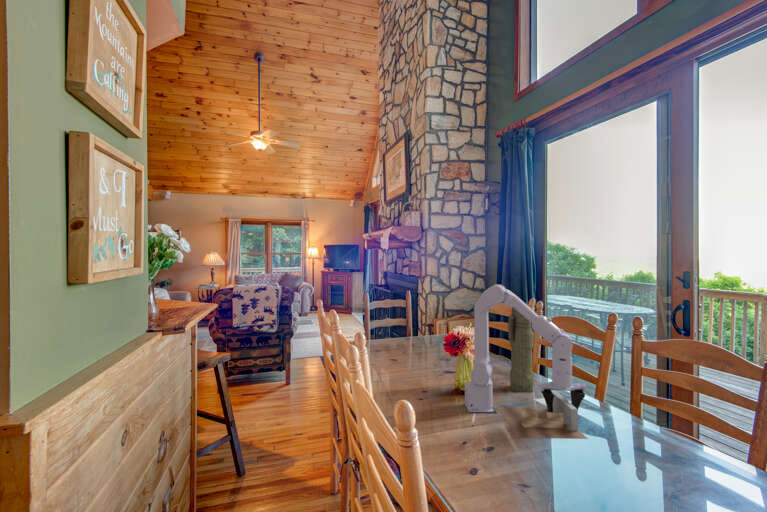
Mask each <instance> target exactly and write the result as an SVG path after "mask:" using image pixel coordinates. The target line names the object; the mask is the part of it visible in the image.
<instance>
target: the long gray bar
mask: <svg viewBox="0 0 767 512" xmlns="http://www.w3.org/2000/svg"><path fill="white" fill-rule="evenodd" d="M551 392H552V394H553V395H554V399H553V412H558V413H562V414H563V423H564V424H567V425H570V430H571V431H578V430H579V429H578V428H579V427H578V426H579V423H578V422H579V420H578V419H579V418H578V415H579V414H578V412H579V408H578V409H577V408H575V407H574V406H573V405H572V404H571V403H570V402H568V401H569V400H567V399H566V398H565V397H564V396H563V395H561V394H560V393H559V391H558V390H551Z"/></svg>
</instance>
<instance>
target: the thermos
mask: <svg viewBox="0 0 767 512" xmlns="http://www.w3.org/2000/svg"><path fill="white" fill-rule="evenodd" d="M523 302H524V301H523ZM524 303H525V304H526V305H527V306H528V307H529V308H530V309H532V308H531V305H530V304H529V303H528V302H524ZM507 325H508V327H507V329H508V332H507V334H508V335H507V336H508V341H509V345H510V348H511V349H510V352H511V353H510V354H511V355H510V356H511V357H510V360H511V362H510V365H511V368H510V371H509V384H510V388H511V389H512V390H513V392H514V391H515V392H514V393H528V394H529V393H534V385H535V384H534V383H535V382H534V381H535V376H534V375H535V374H534V372H533V348H534V340H535V330H534V329H533V328H532V322H530V321H529V320H528V319H527V318H526V317H524V316H523V315H522V314H521V313H519V312H518V311H517V310H516V309H515V308H513V307H511V315H509V316H508V321H507ZM511 389H510V390H511ZM512 390H511V391H512Z"/></svg>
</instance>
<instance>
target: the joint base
mask: <svg viewBox="0 0 767 512" xmlns="http://www.w3.org/2000/svg"><path fill="white" fill-rule="evenodd" d="M497 409H498V410H499V412H500V414H502V417H503V418H504V419H505V421H506V422H507V424H508V425H509V427H510V428H511V431H513V433H514V435H515V436H516V437H517V438H526V439H527V438H530V439H531V438H532V439H535V438H536V439H537V438H538V439H539V438H540V439H573V440H574V439H576V440H577V439H579V440H580V439H581V440H584V439H586V440H588V437H587V436H586V435H584V433H583V432H581V430H579V429H578V431H571V430H570V425H567V424H564V423H563V414H562V413H558V412H548V409H547V408H539V407H538V408H537V407H536V408H535V407H533V408H532V407H529V408H528V407H497Z"/></svg>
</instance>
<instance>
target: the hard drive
mask: <svg viewBox="0 0 767 512" xmlns="http://www.w3.org/2000/svg"><path fill="white" fill-rule="evenodd" d="M533 401H535V402H537V403H538V404H539V403H540V404H541V405H543V406H545V407H547V405H546V401H545V399H544V397H541V398H536V399H534V398H533ZM567 401H568V402H570V403H571V400H567Z"/></svg>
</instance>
